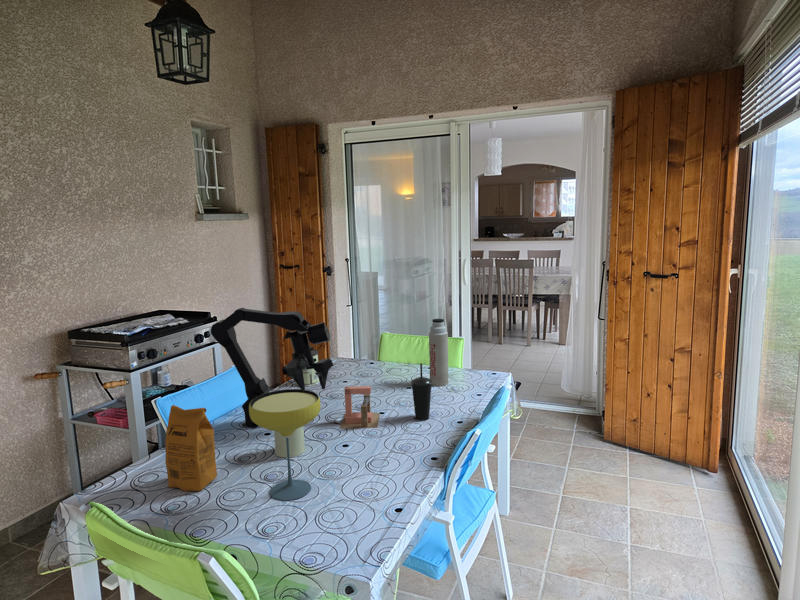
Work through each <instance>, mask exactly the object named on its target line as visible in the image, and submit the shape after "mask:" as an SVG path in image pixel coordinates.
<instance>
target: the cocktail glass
mask: <svg viewBox="0 0 800 600" xmlns="http://www.w3.org/2000/svg"><path fill="white" fill-rule="evenodd" d="M320 411H321V399H320V396H319V395H318V394H317V393H316V392H315V391H312V390H308V389H305V390H301V388H300V389H298V388H296V389H294V388H293V389H292V388H290V389H278V390H273V391H269V393H265V394H262V395H260V396H257V397H256V398H254V399H253V400H252V401H251V402H250V404H249V414H250V418H251V420H252V421H253V422H254V423H255V424H257V425H258V427H261V428H263V429H265V430H269V431H273V432H274V431H277V432H279V433H280V434H281V435H282V436H283V437H284V438H286V445H287V458H286V459H287V479H286V480H283V481H280V482H278V483H276V484H274V485H273V486H272V487H271V488H270V490H269V495H270V497H271V498H272V499H274V500H276V501H281V502H282V501H284V502H289V501H296V500H299V499H302V498H303V497H305V496H307V495H308V494H309V493H310V492H311V490H312V486H311V483H309V482H308V480H303V479H296V478H295V479H293V476H292V470H291V469H292V467H291V457H290V454H289V437H290V436H291V435H292V434H293V432H294V431H295V430H296V429H298V428H300V427H302V426H303V427H304V426H306V425H308V424H309V423H311V422H313V420H314V419H316V418H317V416H319V414H320Z"/></svg>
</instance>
